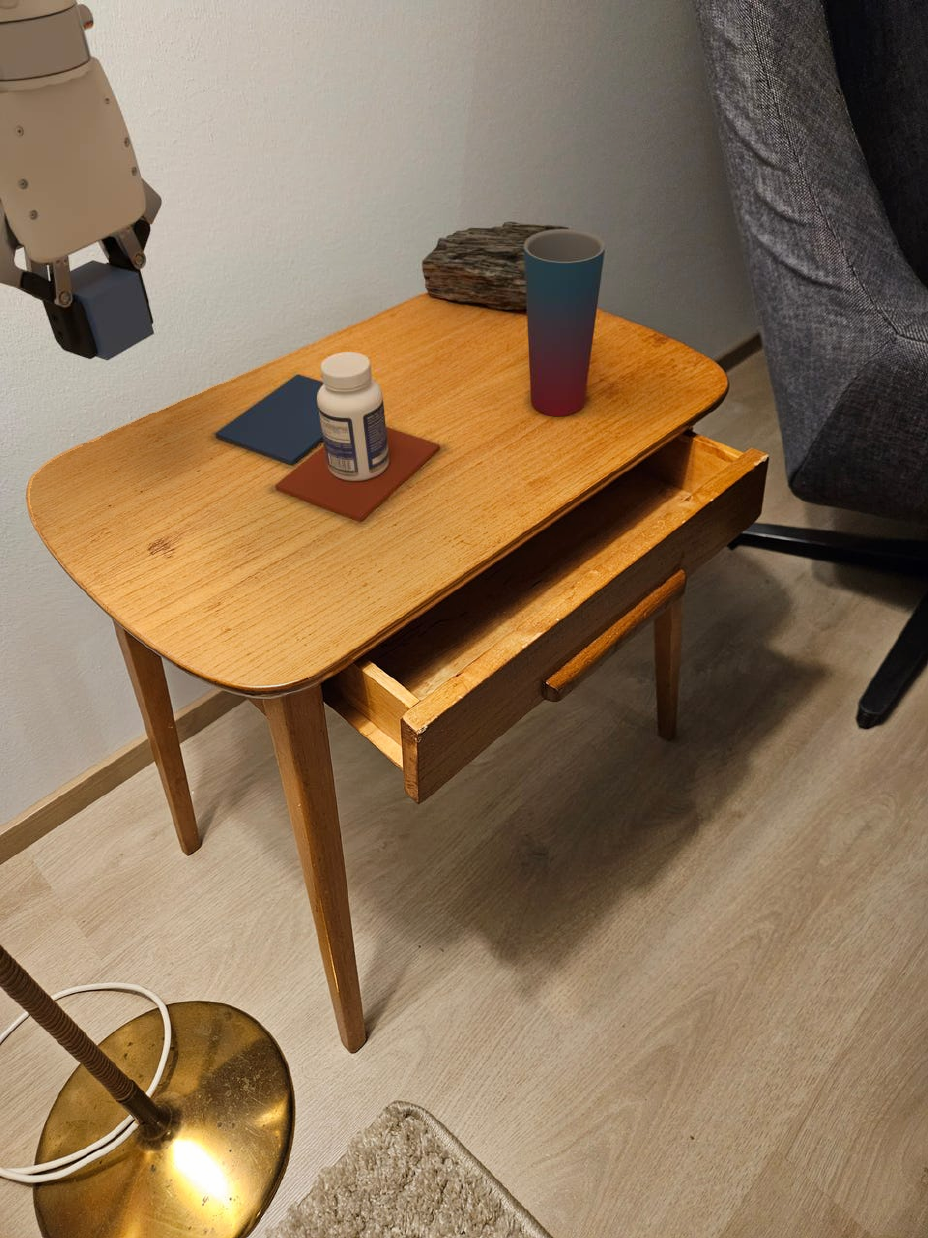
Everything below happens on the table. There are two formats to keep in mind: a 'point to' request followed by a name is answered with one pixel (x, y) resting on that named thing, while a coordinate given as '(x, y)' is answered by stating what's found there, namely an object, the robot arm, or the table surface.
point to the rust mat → (358, 496)
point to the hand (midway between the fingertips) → (107, 334)
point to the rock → (482, 265)
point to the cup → (561, 315)
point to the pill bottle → (352, 418)
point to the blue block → (112, 306)
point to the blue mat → (280, 422)
